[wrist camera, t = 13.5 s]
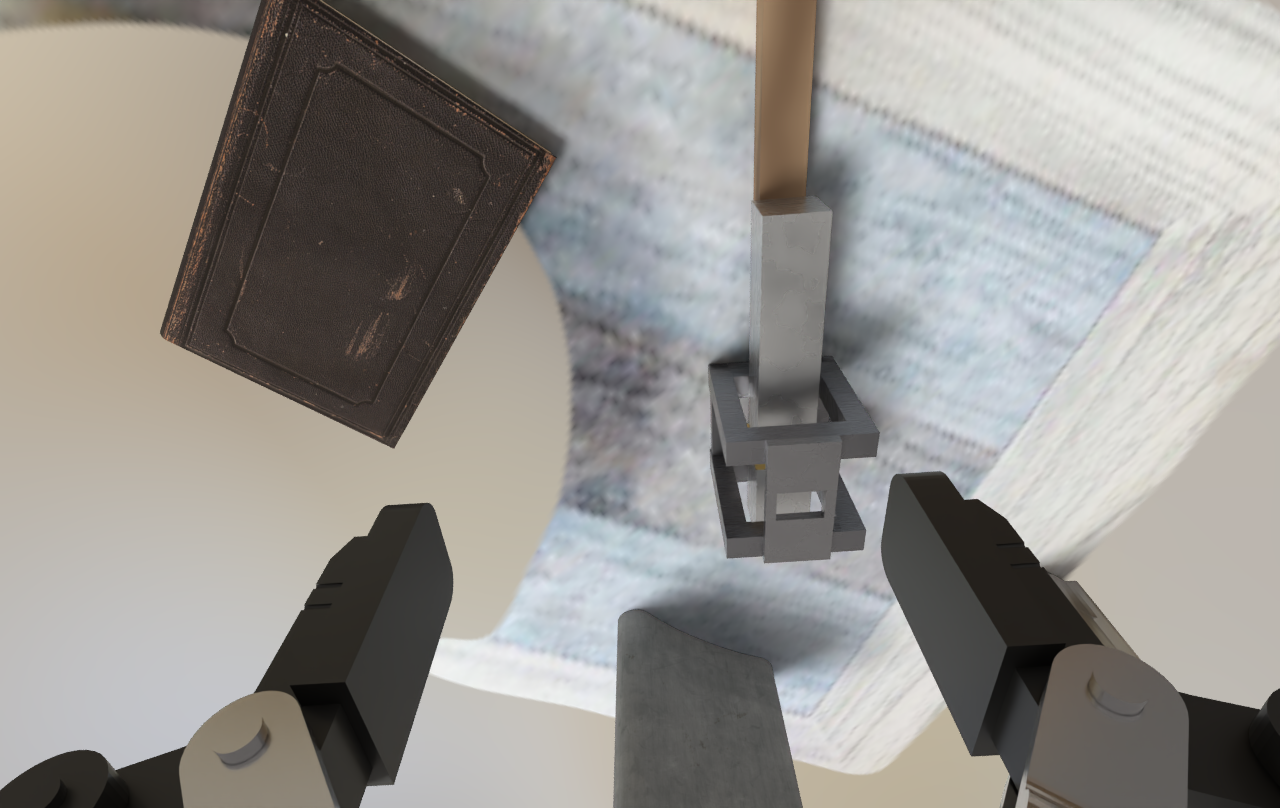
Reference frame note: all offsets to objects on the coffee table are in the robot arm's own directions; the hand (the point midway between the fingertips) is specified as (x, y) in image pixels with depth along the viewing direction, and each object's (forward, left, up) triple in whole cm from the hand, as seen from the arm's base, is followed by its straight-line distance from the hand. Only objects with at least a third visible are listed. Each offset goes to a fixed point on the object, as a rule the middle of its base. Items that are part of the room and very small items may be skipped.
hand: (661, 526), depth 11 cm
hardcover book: (+18, +2, -31) cm, 36 cm away
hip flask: (-2, +41, -31) cm, 51 cm away
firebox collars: (-8, +17, -30) cm, 35 cm away
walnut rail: (-8, -1, -30) cm, 31 cm away
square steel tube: (-8, +12, -28) cm, 32 cm away
